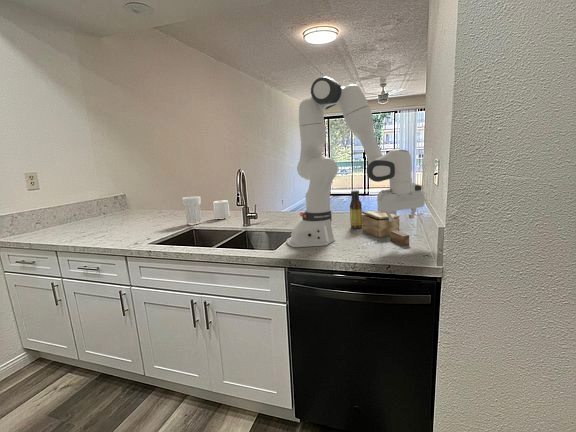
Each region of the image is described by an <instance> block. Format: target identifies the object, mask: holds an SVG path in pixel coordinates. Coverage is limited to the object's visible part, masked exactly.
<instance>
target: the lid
mask: <svg viewBox="0 0 576 432" xmlns="http://www.w3.org/2000/svg"><path fill="white" fill-rule="evenodd" d="M365 214H366V215H368V216H371V217H373V218H376V219H388V218H389V217H388V216H387V214H386V212H380V211H378V210H370V211H369V210H368V211H365V210H362V215H365ZM390 215H391V216H392V217H394V218H399V219H400V215H397V214H396V215H394V214H390Z"/></svg>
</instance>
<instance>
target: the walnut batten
mask: <svg viewBox="0 0 576 432" xmlns="http://www.w3.org/2000/svg"><path fill="white" fill-rule="evenodd" d="M390 241H391V242H393V243H396V244H398V245H400V246H401V247H409V246H410V234H407V233H405V232H402V231H400V230H399V231H397V230H395V231H391V236H390Z"/></svg>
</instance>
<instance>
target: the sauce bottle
mask: <svg viewBox="0 0 576 432" xmlns="http://www.w3.org/2000/svg"><path fill="white" fill-rule="evenodd" d="M350 192H351V193H350V194H351V201H350V204H349V216H350V219H349V220H350V222H349V223H350V227H351V228H352V229H362V215H363V213H362V211H363V208H362V207H363V206H362V201H361V200H360V191H359V190H358V189H357V190H356V189H355V190H350Z"/></svg>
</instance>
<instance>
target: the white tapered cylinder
mask: <svg viewBox="0 0 576 432" xmlns="http://www.w3.org/2000/svg"><path fill="white" fill-rule="evenodd" d="M212 206H213V207H212V208H213V214H214V215H213V216H214V217H215V218H226V217H229V216H230V205H229V200H227V199H225V200H224V199H223V200H222V199H221V200H215V201H213V202H212ZM230 217H231V216H230ZM215 218H214V219H215Z"/></svg>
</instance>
